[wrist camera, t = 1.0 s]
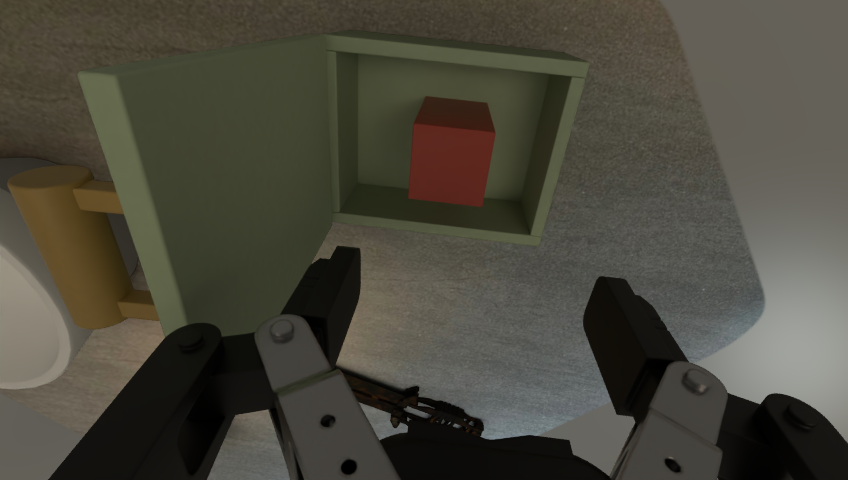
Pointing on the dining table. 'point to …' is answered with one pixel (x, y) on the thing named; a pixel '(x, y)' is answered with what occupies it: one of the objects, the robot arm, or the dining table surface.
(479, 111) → the block
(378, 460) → the robot arm
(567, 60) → the chest
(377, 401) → the knife
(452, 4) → the dining table surface
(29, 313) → the bowl
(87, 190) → the lid
